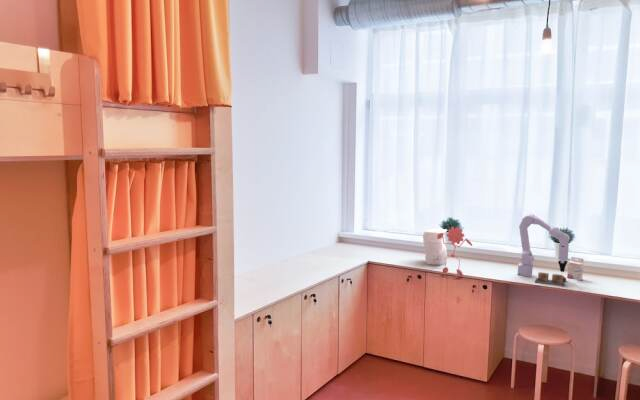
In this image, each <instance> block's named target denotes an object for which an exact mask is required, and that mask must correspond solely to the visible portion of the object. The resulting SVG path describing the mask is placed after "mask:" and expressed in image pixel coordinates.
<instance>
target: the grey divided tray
mask: <svg viewBox="0 0 640 400" xmlns="http://www.w3.org/2000/svg"><path fill="white" fill-rule="evenodd" d="M534 283H535V284H541V285H549V286H556V287H565V286H566V282H562V284H559V283H552V279H548V282H544V281H538V277H536V278H535V280H534Z"/></svg>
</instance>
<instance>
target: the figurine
mask: <svg viewBox="0 0 640 400" xmlns="http://www.w3.org/2000/svg"><path fill="white" fill-rule="evenodd" d="M447 231H448V233H446V235H445V236H446V238H447V239H448V242H447V243H446V242H445V240H444V239H445V238H444V235H443V233H440V234H438V236H437V238H438V239H440V238H442V241H443V243H444V244H445V245H452V246H453V247H454V249H453V252H452V253H450V256H447V257H446V258H447V259H449V258H450V257H451V258H456V259H457V260H458V261H459V262H458V266H461V265H460V264H461V263H460V262H461V259H459V258H458V257H456V256H455V254H454V253H455V251H456V248H457V247H458V248H460V247H461V246H462V245H463V244H464V242H466V243H467V244H469V246H471V247H473V244H472V242H471V241H470V240H469V239H468V238H465V239H464V237H465V234H464V232H463V228H462V229H461V228H460V227H459V226H457V227H456V226H455V227H454V226H451V228H450V229H447ZM449 242H450V243H449ZM456 244H457V245H456ZM446 258H445V259H446ZM447 259H446V260H447ZM446 264H447V263H446ZM446 264H444V268H442V273H443V277H445V275H446V274H447V273H452V274H453V272H450V271H449V268H448V267H447V265H446ZM463 275H464V274H463V272H462V270H461V269H460V268H457V269H456V278H455V279H458V276H460V277H463ZM464 280H466V278H465V279H464Z"/></svg>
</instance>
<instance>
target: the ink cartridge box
mask: <svg viewBox="0 0 640 400" xmlns="http://www.w3.org/2000/svg"><path fill="white" fill-rule="evenodd" d="M567 264H568V266H567V277H566V279H570V280H577V281H582V280H583V272H584V258H580V257H575V256H571V257H570V260H569V261H568V262H567Z"/></svg>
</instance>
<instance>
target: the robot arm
mask: <svg viewBox="0 0 640 400" xmlns="http://www.w3.org/2000/svg"><path fill="white" fill-rule="evenodd" d="M532 224H533V225H538V226H540V227H542V228H543V229H545V230H546V231H548V234H549V235H551V236H552V237H554V238H555V239H556V240H558V242H559V246H558V256H557V257H558V258H557V260H558V261H557V263H558V265H559V271H560V272H561V273H564V272H565V270H566V266H567V264H568V263H569V261H571V258H569V246H570V245H569V243H570V242H569V241H570V240H571V237H570V236H569V234H568V233H565V232H564V231H561V230H560V229H559V227H556V226H553V227H552V226H551V225H549V224H548V223H547V222H546V221H544V220H542V219H541V218H540V217H538V216H537V215H535V214H532V213H531V214H528V215H525V216H524V217H523V218H522V219H521V222H520V224H519V226H518V227H519V235H520V241H521V250H522V252H521V259H520V261H521V263H518V265H517V266H518V267H517V276H523V277H533V269H534V267H533V265H534V263H533V262H534V260H535V257H534V255H533V252H532V251H531V245H530V237H529V230H528V228H529V227H530V226H531V225H532Z"/></svg>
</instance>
